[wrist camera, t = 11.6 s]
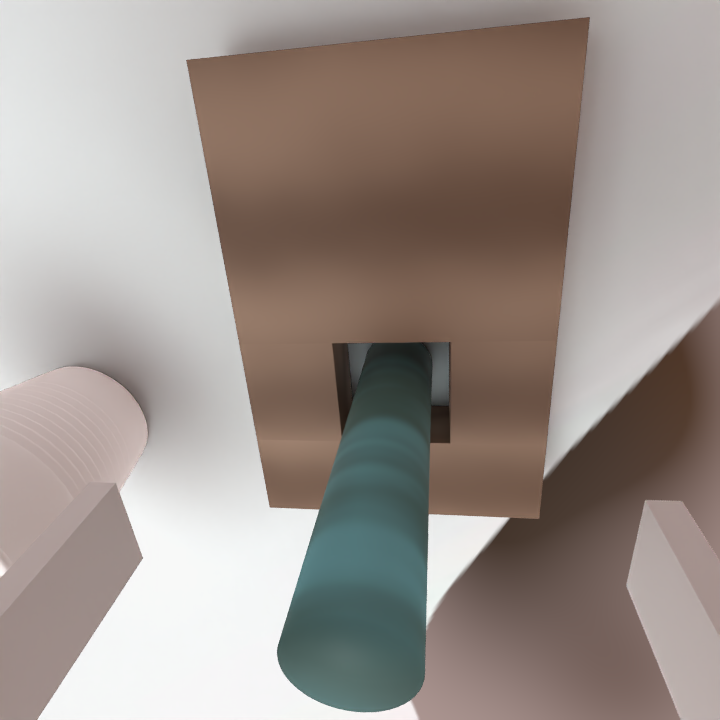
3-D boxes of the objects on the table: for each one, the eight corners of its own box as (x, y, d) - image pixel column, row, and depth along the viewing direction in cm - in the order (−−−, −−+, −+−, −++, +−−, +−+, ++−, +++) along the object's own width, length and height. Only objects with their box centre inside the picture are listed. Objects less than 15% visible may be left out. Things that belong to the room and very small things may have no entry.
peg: (363, 334, 22) (267, 608, 10) (431, 333, 22) (423, 620, 9) (367, 393, 23) (287, 704, 11) (432, 394, 23) (425, 719, 10)
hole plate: (223, 69, 18) (186, 60, 16) (565, 34, 17) (590, 17, 14) (287, 467, 26) (269, 507, 23) (527, 474, 24) (539, 518, 21)
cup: (207, 378, 24) (50, 551, 14) (164, 515, 29) (22, 720, 19) (13, 294, 24) (-284, 415, 14) (0, 447, 28) (-234, 620, 18)
